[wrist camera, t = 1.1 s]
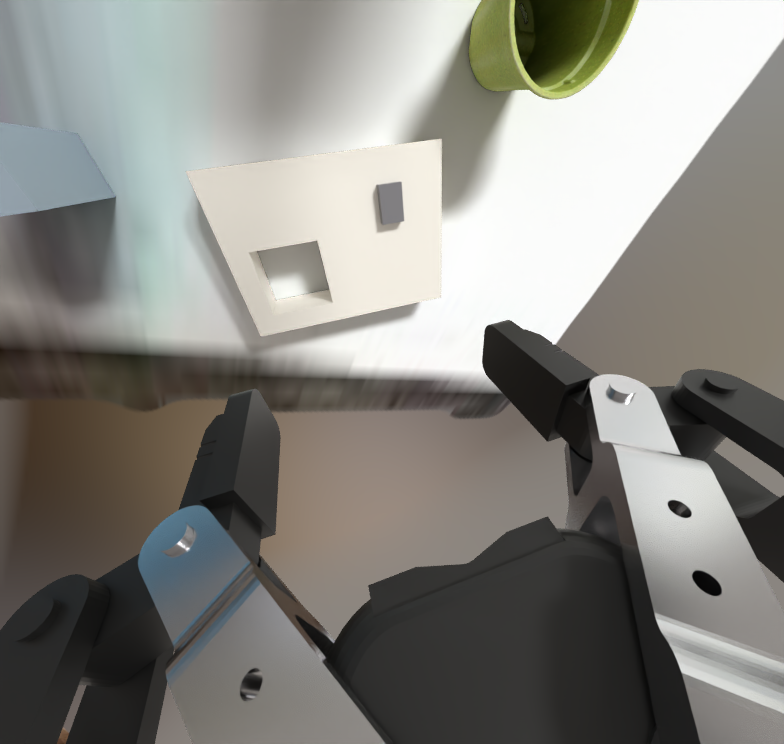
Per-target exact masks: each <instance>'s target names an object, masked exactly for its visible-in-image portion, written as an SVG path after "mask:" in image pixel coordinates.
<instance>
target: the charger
mask: <svg viewBox="0 0 784 744" xmlns="http://www.w3.org/2000/svg"><path fill="white" fill-rule="evenodd" d="M113 197H116V196H115V194H114V193H113V191H112V189H111V188H110V186H109V184H108V183H107V181H106V180H105V178H104V176H103V175H102V173H101V171H100V170H99V168H98V166H97V165H96V163H95V161H94V160H93V158H92V157H91V155H90V153H89V152H88V150H87V148H86V147H85V145H84V143H83V142H82V140H81V138H80V137H79V135H78V133H71V132H64V131H57V130H50V129H43V128H36V127H29V126H22V125H15V124H7V123H0V216H7V215H14V214H22V213H29V212H36V211H42V210H48V209H53V208H59V207H64V206H69V205H75V204H80V203H86V202H91V201H97V200H102V199H108V198H113Z"/></svg>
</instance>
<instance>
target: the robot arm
mask: <svg viewBox="0 0 784 744" xmlns="http://www.w3.org/2000/svg"><path fill="white" fill-rule="evenodd" d="M482 363H483V368H484V371H485V373H486V375H487V376H488V377H489V379H490V380H491V381H492V382H493V383H494V384H495V385H496V386H497V387H498V388H499V389H500V391H501V392H502V393H503V394H504V395H505V396H506V397H507V398H508V399H509V400H510V401H511V403H512V404H513V405H514V406H515V407H516V408H517V409H518V410H519V411H520V412H521V413H522V414H523V416H524V417H525V418H526V419H527V420H528V421H529V422H530V423H531V424H532V425H533V426H534V428H535V429H536V430H537V431H538V432H539V433H540V434H541V435H542V436H543V437H544V438H545V440H546V441H551V440H554V439H557V438H560V437H562V438H563V439H564V440H565V441H566V444H565V448H564V451H565V463H566V475H567V487H568V500H569V504H568V512H567V518H566V527H565V529H556V528H555V526H554V525H553V524H552V522H551V521H550V519H549V518H548V517H545V518H542V519H540V520H537V521H535V522H532V523H529V524H527V525H524V526H521V527H519V528H516V529H514V530H511V531H509V532H506V533H505V534H504V535H503V536H501V537H500V538H499V539H498V540H497V541H495V542H494V543H493V544H492V545H491V546H490V547H488V548H487V549H486V550H485V551H483V552H482V553H481V554H480V555H479V556H477V557H476V558H475V559H474V560H473V561H471V562H470V563H467V564H461V565H444V566H430V567H415V568H413V569H410V570H407V571H405V572H402V573H399V574H397V575H394V576H392V577H389V578H387V579H384V580H381V581H379V582H376V583H374V584H371V585H369V592H370V597H371V599H370V600H369V601H368V602H367V603H365V604H364V605H363V606H362V607H361V608H360V609H359V610H358V611H357V612H356V613H355V614H354V615H353V616H352V617H351V619H350V620H349V621H348V623H347V624H346V625H345V626H344V628H343V629H342V631H341V632H340V634H339V636H338V637H337V639H336V640H334V639H333V638H332V636H331V635H330V634H329V633H328V632H327V631H326V629H325V628H324V627H323V626H322V625H321V624H320V623H319V622H318V621H317V619H316V618H315V617H313V615H312V614H311V613H310V612H308V610H307V609H306V608H305V607H304V606H303V605H302V604H301V603H300V601H299V600H298V599H297V598H296V597H295V596H294V594H293V593H292V592H291V591H290V590H289V588H288V587H287V586H286V585H285V584H284V582H283V581H282V580H281V579H280V578H279V577H278V575H277V574H276V573H275V572H274V571H273V570H272V568H271V567H270V566H269V565H268V564H267V562H266V561H265V560H264V559H263V558H262V556H261V555H259V552H260V541H261V539H263V538H266V537H269V536H272V535H275V531H276V512H277V493H278V473H279V455H280V431H279V427H278V424H277V422H276V420H275V418H274V416H273V414H272V413H271V411H270V409H269V408H268V406H267V404H266V402H265V401H264V399H263V397H262V396H261V394H260V392H259V391H258V390H257V389H252V390H248V391H245V392H241V393H237V394H234V395H230V396H229V398H228V401H227V405H226V408H225V412H224V414H221V415H218V416H216V418H215V419H214V420H213V421H212V423H211V424H210V425H209V426H208V428H207V429H206V430H205V434H204V436H203V439H202V442H201V447H200V448H199V451H198V454H197V460H195V463H194V466H193V469H192V472H191V475H190V478H189V481H188V484H187V487H186V490H185V493H184V496H183V499H182V501H181V504H180V507H179V510H178V511H177V512H175V513H173V514H172V515H170V516H169V517H167V518H166V519H165V520H164V521H163V522H161V523H160V524H159V525H158V526H157V527H156V528H155V529H154V530H153V532H152V533H151V534H150V535H149V537H148V539H147V540H146V542H145V543H144V545H143V547H142V549H141V552H140V554H138V555H136V556H135V557H133V558H132V559H130V560H128V561H127V562H125V563H123V564H122V565H120V566H118V567H117V568H115V569H113V570H112V571H110V572H109V573H107V574H105V575H104V576H102V577H100V578H99V579H97V580H92V579H90V578H87V577H85V576H83V575H78V574H75V575H69V576H66V577H63V578H60V579H58V580H56V581H54V582H52V583H51V584H49V585H47V586H46V587H44V588H43V589H41V590H40V591H39V592H37V593H36V594H35V595H33V596H32V597H31V598H30V599H29V600H28V601H26V602H25V603H24V604H23V605H22V606H21V607H20V608H19V609H18V610H17V611H16V612H15V613H14V614H13V615H12V617H11V618H10V619H9V620H8V621H7V622H6V624H5V625H4V626H3V628H2V629H1V630H0V744H57V741H58V738H59V736H60V733H61V730H62V728H63V725H64V722H65V720H66V717H67V714H68V712H69V709H70V706H71V704H72V701H73V698H74V696H75V693H76V690H77V687H78V685H87V686H86V689H85V691H84V694H83V697H82V700H81V703H80V705H79V708H78V711H77V714H76V716H75V719H74V722H73V725H72V728H71V730H70V733H69V736H68V739H67V741H66V744H155V739H156V734H157V729H158V724H159V720H160V715H161V710H162V705H163V700H164V695H165V690H166V686H167V682H168V685H169V688H170V690H171V693H172V695H173V698H174V700H175V702H176V705H177V707H178V710H179V712H180V715H181V717H182V720H183V722H184V724H185V727H186V730H187V732H188V734H189V737H190V739H191V742H192V744H784V611H783V610H782V607H781V606H780V604H779V602H778V600H777V598H776V596H775V594H774V592H773V590H772V588H771V586H770V584H769V582H768V580H767V578H766V576H765V574H764V572H763V570H762V568H761V566H760V564H759V562H758V560H759V561H760V562H762V563H763V564H764V565H765V566H766V567H767V568H768V569H769V570H770V571H772V572H773V573H774V574H775V575H776V576H777V577H778V578H779V579H780V580H781V581H783V582H784V496H782V497H781V498H780V497H778V496H776V495H775V494H773V493H772V492H770V491H769V490H768V489H766V488H765V487H763V486H762V485H761V484H759V483H758V482H756V481H755V480H754V479H752V478H751V477H750V476H748V475H747V474H745V473H744V472H743V471H741V470H740V469H738V468H737V467H736V466H734V465H733V464H732V463H730V462H729V461H728V460H726V459H725V458H723V457H722V456H721V455H719V454H718V453H716V452H715V451H714V449H715V448H716V447H717V446H718V445H719V444H720V443H721V442H722V441H723V440H724V439H725V438H726V437H728V438H729V439H731V440H732V441H734V442H735V443H736V444H738V445H739V446H741V447H742V448H744V449H745V450H747V451H748V452H750V453H752V454H753V455H754V456H756V457H758V458H759V459H760V460H762V461H763V462H765V463H767V464H768V465H769V466H771V467H772V468H774V469H775V470H777V471H778V472H779V473H780V474H781V475H782V476H783V477H784V401H783V400H781V399H779V398H777V397H775V396H773V395H771V394H769V393H767V392H765V391H763V390H761V389H759V388H757V387H755V386H754V385H752V384H750V383H748V382H746V381H744V380H742V379H740V378H737V377H735V376H732V375H729V374H726V373H723V372H718V371H712V370H704V369H703V370H702V369H697V370H690V371H687V372H685V373H684V374H683V375H682V377H681V378H680V380H679V381H678V383H677V384H676V386H666V387H647V386H646V385H644V384H643V383H641V382H639V381H637V380H635V379H632V378H629V377H626V376H622V375H615V374H605V375H598V374H597V373H595V372H594V371H592V370H591V369H589V368H588V367H586V366H585V365H584V364H582V363H581V362H579V361H578V360H576V359H575V358H573V357H572V356H571V355H569V354H568V353H566V352H565V351H562V350H561V349H560V348H559V347H557V346H556V345H552V342H550V341H549V340H547V339H546V338H544V337H543V336H541V335H539V334H537V333H534V332H531V331H528V330H523V329H522V328H520V327H519V326H518V325H516V324H515V323H513V322H512V321H510V320H506V321H502V322H499V323H495V324H491V325H488V326H487V327H486V329H485V334H484V346H483V359H482ZM757 559H758V560H757ZM174 650H175V653H174V655H173V652H174Z"/></svg>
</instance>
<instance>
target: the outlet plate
mask: <svg viewBox="0 0 784 744" xmlns="http://www.w3.org/2000/svg"><path fill="white" fill-rule="evenodd" d="M186 173H187V176H188V178H189V180H190V182H191V184H192V187H193V189H194V191H195V193H196V195H197V198H198V200H199V202H200V204H201V206H202V209H203V211H204V213H205V215H206V217H207V220H208V222H209V224H210V226H211V228H212V231H213V233H214V235H215V237H216V239H217V242H218V244H219V246H220V248H221V250H222V253H223V255H224V257H225V259H226V261H227V264H228V266H229V268H230V270H231V272H232V275H233V277H234V279H235V281H236V283H237V285H238V288H239V290H240V292H241V294H242V296H243V299H244V301H245V303H246V305H247V307H248V310H249V312H250V314H251V316H252V318H253V321H254V323H255V325H256V327H257V329H258V332H259V334H260V336H261V337H263V336H267V335H272V334H277V333H281V332H286V331H290V330H295V329H299V328H304V327H308V326H313V325H317V324H322V323H327V322H331V321H336V320H340V319H345V318H349V317H354V316H358V315H363V314H367V313H372V312H377V311H381V310H386V309H390V308H395V307H399V306H404V305H408V304H413V303H417V302H422V301H427V300H431V299H436V298H440V297H441V226H442V139H434V140H427V141H419V142H411V143H403V144H395V145H388V146H380V147H372V148H364V149H356V150H349V151H341V152H333V153H325V154H317V155H310V156H302V157H294V158H286V159H278V160H271V161H263V162H255V163H247V164H239V165H232V166H224V167H216V168H208V169H200V170H193V171H186ZM312 241H317V242H318V246H319V250H320V254H321V258H322V262H323V266H324V270H325V274H326V278H327V282H328V286H329V290H324V291H319V292H314V293H309V294H304V295H299V296H294V297H289V298H284V299H279V300H275V297H274V294H273V292H272V289H271V286H270V284H269V281H268V279H267V276H266V273H265V271H264V268H263V266H262V263H261V260H260V258H259V255H258V252H257V251H261V250H267V249H272V248H278V247H284V246H290V245H295V244H301V243H307V242H312Z"/></svg>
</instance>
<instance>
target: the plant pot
mask: <svg viewBox="0 0 784 744" xmlns="http://www.w3.org/2000/svg"><path fill="white" fill-rule="evenodd" d="M638 2H639V0H482V1H481V2H480V4H479V6H478V8H477V10H476V13H475V15H474V18H473V21H472V26H471V35H470V45H469V59H470V64H471V68H472V71H473V73H474V76H475V77H476V79H477V81H478V82H479V83H480V84H481V86H483V87H484V88H485V89H488V90H491V91H510V90H530V91H532V92H533V93H534V94H536V95H538V96H540V97H542V98H545V99H562V98H566V97H569V96H572V95H574V94H575V93H577V92H579V91H581V90H582V89H583V88H585V87H586V86H587V85H589V84H590V83H591V82H592V81H593V80H594V79H595V78H596V77H597V76H598V75H599V74H600V73H601V71H602V70H603V69H604V68H605V66H606V65H607V64H608V62H609V61H610V60H611V58H612V57H613V55H614V54H615V52H616V50H617V49H618V47H619V45H620V43H621V41H622V39H623V38H624V36H625V34H626V32H627V30H628V28H629V25H630V23H631V21H632V18H633V16H634V13H635V10H636V8H637V5H638ZM521 3H522V4H523V6H524V8H525V11H526V12H527V17H528V22H527V24H525V23H524V19H523V15H522V12H521V9H520V8H519V5H520V4H521Z"/></svg>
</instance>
